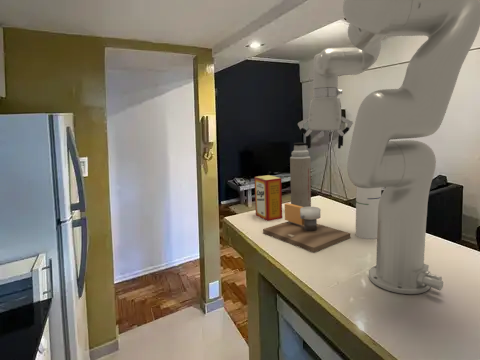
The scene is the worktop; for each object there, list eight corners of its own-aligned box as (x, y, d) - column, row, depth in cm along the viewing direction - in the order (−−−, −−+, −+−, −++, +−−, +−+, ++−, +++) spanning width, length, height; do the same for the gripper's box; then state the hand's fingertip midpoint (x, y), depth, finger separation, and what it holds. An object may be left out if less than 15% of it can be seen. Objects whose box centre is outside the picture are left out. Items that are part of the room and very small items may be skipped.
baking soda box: (255, 215, 129) (254, 175, 126) (269, 212, 132) (268, 174, 129) (267, 221, 120) (266, 179, 118) (282, 218, 123) (281, 177, 120)
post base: (350, 237, 100) (350, 220, 99) (314, 252, 90) (313, 234, 89) (298, 222, 117) (298, 207, 116) (263, 233, 108) (262, 217, 107)
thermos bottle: (313, 210, 132) (313, 141, 127) (307, 215, 125) (306, 143, 120) (295, 208, 136) (294, 142, 131) (288, 213, 130) (286, 143, 125)
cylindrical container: (382, 239, 98) (384, 157, 93) (357, 238, 99) (359, 158, 95) (376, 231, 104) (379, 154, 100) (353, 230, 106) (355, 155, 101)
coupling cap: (326, 226, 104) (326, 208, 103) (309, 231, 100) (309, 213, 99) (294, 216, 116) (294, 201, 115) (278, 221, 111) (277, 205, 110)
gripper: (354, 93, 102) (352, 146, 106) (299, 96, 108) (299, 146, 112) (353, 92, 96) (351, 149, 99) (295, 95, 101) (295, 149, 105)
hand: (324, 148), depth 106 cm, fingers open, 9 cm apart
